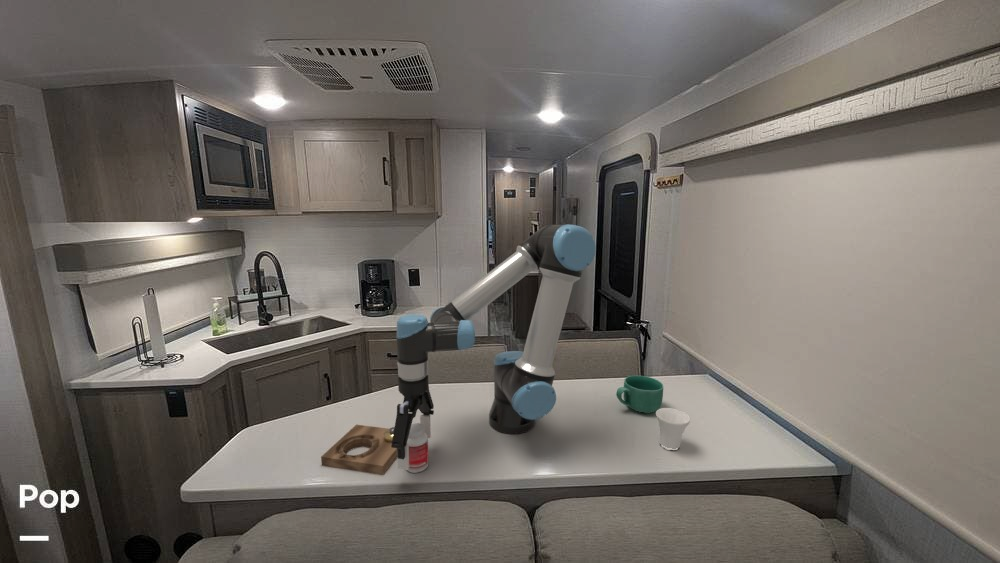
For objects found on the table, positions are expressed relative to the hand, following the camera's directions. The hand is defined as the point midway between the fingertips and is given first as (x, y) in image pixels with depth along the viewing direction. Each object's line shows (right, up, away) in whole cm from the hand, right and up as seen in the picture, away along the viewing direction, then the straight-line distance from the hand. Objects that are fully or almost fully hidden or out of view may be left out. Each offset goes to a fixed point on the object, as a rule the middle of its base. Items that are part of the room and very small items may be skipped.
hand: (415, 451), depth 97 cm
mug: (+70, +1, +31) cm, 76 cm away
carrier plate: (-15, -3, +7) cm, 17 cm away
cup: (+72, -3, +9) cm, 72 cm away
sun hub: (-9, 0, +9) cm, 13 cm away
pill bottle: (0, -4, +1) cm, 4 cm away
